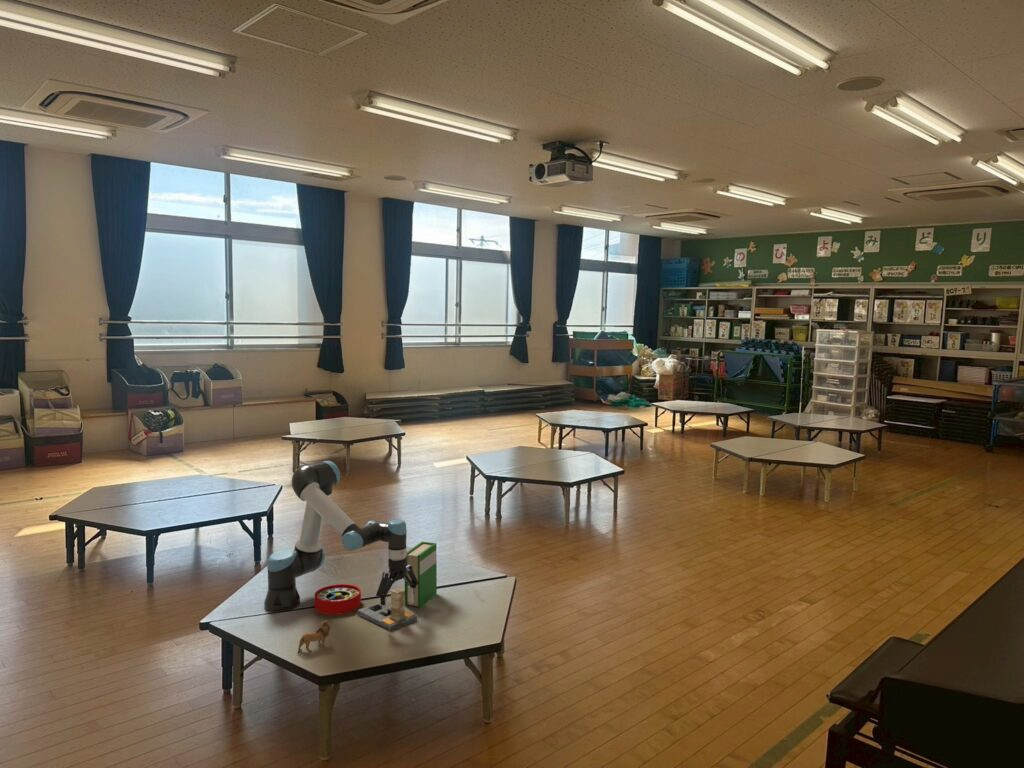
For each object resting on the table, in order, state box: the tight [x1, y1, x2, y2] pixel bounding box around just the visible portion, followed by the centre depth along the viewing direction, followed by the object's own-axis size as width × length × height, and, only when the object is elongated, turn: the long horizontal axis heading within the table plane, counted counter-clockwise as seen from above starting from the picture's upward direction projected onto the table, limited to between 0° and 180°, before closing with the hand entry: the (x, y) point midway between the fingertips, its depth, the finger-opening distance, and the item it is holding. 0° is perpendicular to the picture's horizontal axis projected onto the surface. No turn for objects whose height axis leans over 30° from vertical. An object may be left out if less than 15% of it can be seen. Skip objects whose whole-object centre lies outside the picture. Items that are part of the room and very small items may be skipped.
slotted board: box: [356, 601, 418, 632], centre depth 293 cm, size 14×23×2 cm, turn 47°
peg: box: [390, 587, 406, 622], centre depth 288 cm, size 4×4×14 cm
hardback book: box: [404, 541, 438, 609], centre depth 311 cm, size 18×7×24 cm, turn 162°
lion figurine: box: [296, 620, 332, 654], centre depth 265 cm, size 15×5×9 cm, turn 140°
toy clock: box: [314, 583, 362, 615], centre depth 306 cm, size 20×6×20 cm
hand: (397, 607), depth 288 cm, fingers open, 13 cm apart
